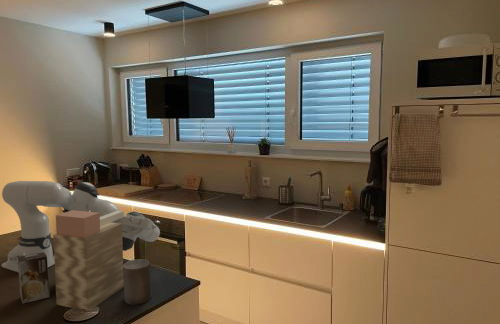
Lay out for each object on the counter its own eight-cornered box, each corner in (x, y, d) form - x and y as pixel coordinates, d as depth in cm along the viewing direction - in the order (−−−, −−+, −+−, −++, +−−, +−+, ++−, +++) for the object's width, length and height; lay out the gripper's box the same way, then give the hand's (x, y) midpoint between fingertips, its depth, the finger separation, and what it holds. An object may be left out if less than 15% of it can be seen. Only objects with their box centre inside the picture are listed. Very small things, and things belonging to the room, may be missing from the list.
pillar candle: (156, 296, 143) (155, 258, 141) (138, 307, 134) (137, 266, 133) (136, 291, 147) (135, 254, 146) (118, 301, 138) (116, 262, 137)
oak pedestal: (56, 304, 135) (53, 234, 133) (94, 282, 154) (92, 220, 152) (88, 310, 131) (86, 238, 129) (123, 286, 150) (121, 223, 148)
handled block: (56, 234, 133) (55, 215, 132) (108, 215, 160) (108, 199, 159) (84, 238, 129) (83, 218, 129) (133, 217, 156) (132, 201, 156)
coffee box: (47, 291, 146) (45, 251, 144) (50, 297, 141) (47, 256, 139) (19, 297, 141) (17, 256, 139) (21, 304, 136) (19, 261, 134)
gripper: (156, 235, 166) (140, 227, 153) (116, 230, 171) (98, 222, 159) (159, 221, 168) (144, 212, 156) (120, 217, 174) (103, 208, 162)
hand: (121, 217), depth 158 cm, fingers open, 8 cm apart
